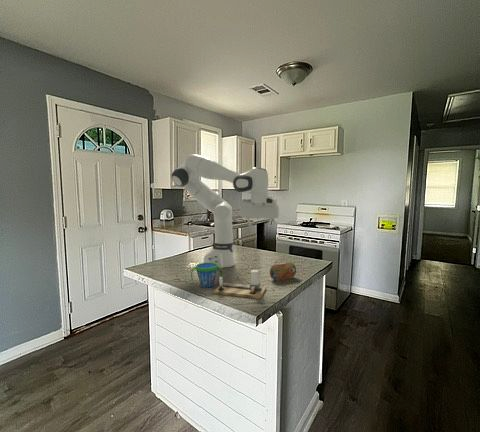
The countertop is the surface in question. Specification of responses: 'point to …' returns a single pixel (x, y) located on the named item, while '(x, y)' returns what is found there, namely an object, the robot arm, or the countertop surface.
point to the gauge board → (240, 290)
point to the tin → (282, 271)
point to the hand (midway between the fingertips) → (259, 226)
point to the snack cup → (207, 274)
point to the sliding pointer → (254, 280)
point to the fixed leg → (220, 283)
